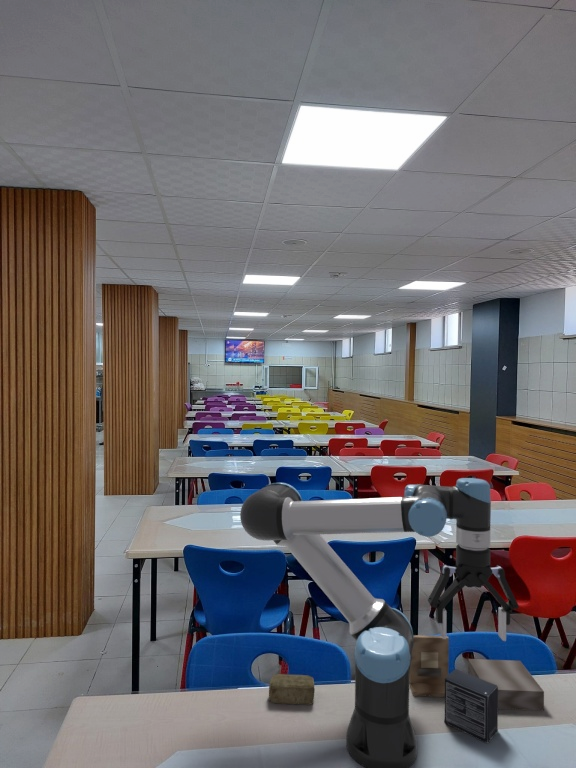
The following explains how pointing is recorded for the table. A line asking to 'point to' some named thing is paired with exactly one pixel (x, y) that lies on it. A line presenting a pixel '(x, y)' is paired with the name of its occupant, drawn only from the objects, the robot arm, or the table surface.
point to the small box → (471, 705)
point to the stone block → (291, 689)
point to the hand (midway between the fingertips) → (472, 637)
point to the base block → (509, 683)
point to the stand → (429, 666)
